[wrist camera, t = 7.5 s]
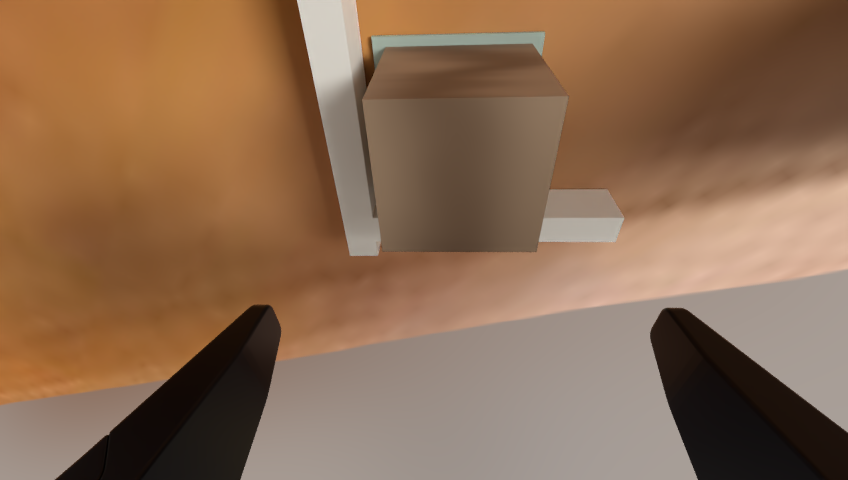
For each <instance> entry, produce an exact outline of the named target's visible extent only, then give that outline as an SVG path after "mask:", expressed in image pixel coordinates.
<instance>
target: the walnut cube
mask: <svg viewBox="0 0 848 480" xmlns="http://www.w3.org/2000/svg"><path fill="white" fill-rule="evenodd" d="M568 99H569V95H568V94H567V93H566V91H565V90H564V88H563V87H562V85H561V84H560V82H559V81H558V80H557V78H556V77H555V75H554V74H553V72H552V71H551V69H550V68H549V67H548V65H547V64H546V62H545V61H544V59H543V58H542V56H541V55H540V54H539V52H538V51H537V49H536V48H535V46H534V45H533V43H530V44H488V45H445V46H403V47H385V50H384V52H383V54H382V56H381V59H380V61H379V63H378V65H377V68H376V70H375V72H374V74H373V76H372V79H371V81H370V83H369V85H368V88H367V90H366V92H365V94H364V97H363V99H362V103H363V110H364V117H365V125H366V132H367V140H368V147H369V155H370V162H371V170H372V177H373V185H374V192H375V199H376V207H377V214H378V222H379V229H380V237H381V244H382V252H537V247H538V242H539V237H540V233H541V228H542V223H543V218H544V213H545V209H546V204H547V199H548V194H549V190H550V185H551V180H552V175H553V170H554V166H555V161H556V156H557V151H558V146H559V142H560V137H561V132H562V127H563V123H564V118H565V113H566V108H567V103H568Z"/></svg>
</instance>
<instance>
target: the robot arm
mask: <svg viewBox="0 0 848 480" xmlns="http://www.w3.org/2000/svg"><path fill="white" fill-rule="evenodd" d="M280 337H281V327H280V324H279V321H278V319H277V317H276V314H275V312H274V310H273V308H272V307H271V306H270V305H253V306H251V307H250V308H248V309H247V310H246V311H245V312H244V313H243V314H242V315H240V316H239V317H238V318H237V319H236V320H235V321H234V322H233V323H232V324H230V325H229V326H228V327H227V328H226V329H225V330H224V331H223V332H221V333H220V334H219V335H218V336H217V337H216V338H215V339H214V340H212V341H211V342H210V343H209V344H208V345H207V346H206V347H205V348H203V349H202V350H201V351H200V352H199V353H198V354H197V355H196V356H194V357H193V358H192V359H191V360H190V361H189V362H188V363H187V364H185V365H184V366H183V367H182V368H181V369H180V370H179V371H178V372H177V373H175V374H174V375H173V376H172V377H171V378H170V379H169V380H168V381H166V382H165V383H164V384H163V385H162V386H161V387H160V388H159V389H157V391H155V392H154V393H153V394H152V395H151V396H150V397H148V398H147V399H146V400H145V401H144V402H143V403H142V404H141V405H139V406H138V407H137V408H136V409H135V410H134V411H133V412H132V413H131V414H130V415H128V416H127V417H126V418H125V419H124V420H123V421H122V422H120V424H118V425H117V426H116V427H115V428H114V429H113V430H112V431H111V432H110V434H109V435H106V436H105V437H103V438H102V439H101V440H100V441H99V442H98V443H97V444H96V445H94V446H93V447H92V448H91V449H90V450H89V451H88V452H87V453H85V454H84V455H83V456H82V457H81V458H80V459H79V460H77V461H76V462H75V463H74V464H73V465H72V466H71V467H69V468H68V469H67V470H66V471H64V472H63V473H62V474H61V475H60V476H59V477H58V478H56V479H55V480H240V479H241V476H242V473H243V470H244V467H245V463H246V461H247V458H248V455H249V452H250V449H251V446H252V443H253V440H254V437H255V433H256V431H257V427H258V425H259V422H260V419H261V415H262V412H263V409H264V406H265V403H266V399H267V396H268V392H269V388H270V384H271V379H272V374H273V370H274V365H275V360H276V356H277V351H278V346H279V342H280ZM650 339H651V343H652V347H653V350H654V354H655V358H656V361H657V365H658V369H659V372H660V376H661V379H662V383H663V387H664V390H665V394H666V398H667V401H668V404H669V407H670V410H671V412H672V415H673V418H674V420H675V422H676V425H677V427H678V430H679V433H680V435H681V438H682V440H683V443H684V445H685V448H686V450H687V453H688V455H689V458H690V460H691V463H692V465H693V468H694V471H695V473H696V476H697V478H698V480H848V432H846V431H845V430H844V429H842V428H841V427H840V426H838V425H837V424H836V423H834V422H833V421H832V420H831V419H829V418H828V417H827V416H825V415H824V414H822V413H821V412H820V411H819V410H817V409H816V408H815V407H814V406H812V405H811V404H810V403H808V402H807V401H806V400H804V399H803V398H802V397H800V396H799V395H798V394H796V393H795V392H794V391H793V390H791V389H790V388H788V387H787V386H786V385H785V384H783V383H782V382H780V381H779V380H778V379H777V378H775V377H774V376H773V375H771V374H770V373H769V372H768V371H766V370H765V369H764V368H762V367H761V366H760V365H759V364H757V363H756V362H755V361H753V360H752V359H751V358H749V357H748V356H747V355H745V354H744V353H743V352H741V351H740V350H739V349H737V348H736V347H735V346H734V345H732V344H731V343H730V342H728V341H727V340H726V339H725V338H723V337H722V336H721V335H719V334H718V333H717V332H715V331H714V330H713V329H711V328H710V327H709V326H708V325H706V324H705V323H704V322H702V321H701V320H699V319H698V318H697V317H696V316H694V315H693V314H692V313H690V312H689V311H688V310H686V309H683V308H665V309H663V310H662V311H661V313H660V315H659V316H658V318H657V320H656V322H655V323H654V325H653V327H652V329H651V333H650Z"/></svg>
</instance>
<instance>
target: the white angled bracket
mask: <svg viewBox="0 0 848 480" xmlns="http://www.w3.org/2000/svg"><path fill="white" fill-rule="evenodd" d="M297 3H298V7H299V12H300V17H301V22H302V27H303V31H304V36H305V41H306V46H307V51H308V56H309V60H310V65H311V70H312V75H313V80H314V84H315V89H316V94H317V99H318V104H319V108H320V113H321V118H322V123H323V128H324V133H325V137H326V142H327V147H328V152H329V157H330V161H331V166H332V171H333V176H334V181H335V186H336V190H337V195H338V200H339V205H340V210H341V214H342V219H343V224H344V229H345V234H346V238H347V243H348V248H349V253H350V256H378V254H379V249H380V243H381V237H380V229H379V222H378V214H377V207H376V199H375V192H374V185H373V177H372V170H371V162H370V155H369V147H368V140H367V132H366V125H365V117H364V110H363V103H362V99H363V97H364V94H365V92H366V90H367V88H366V80H365V71H364V63H363V55H362V47H361V39H360V31H359V23H358V15H357V7H356V0H297ZM623 221H624V216H623V214H622V213H621V211H620V209H619V208H618V206H617V204H616V203H615V201H614V199H613V198H612V196H611V194H610V193H609V191H608V189H550V190H549V194H548V199H547V204H546V209H545V213H544V218H543V223H542V228H541V233H540V237H539V242H616V239H617V236H618V234H619V231H620V228H621V226H622V223H623Z"/></svg>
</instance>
